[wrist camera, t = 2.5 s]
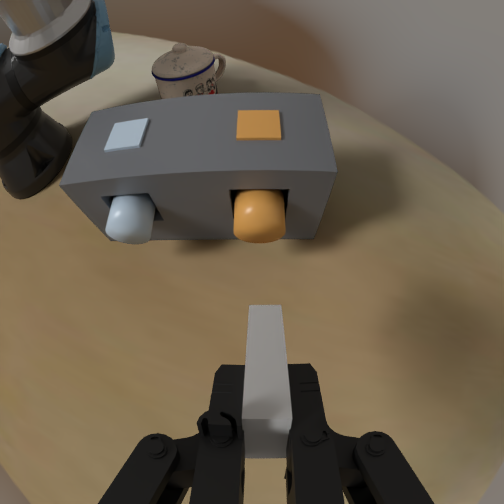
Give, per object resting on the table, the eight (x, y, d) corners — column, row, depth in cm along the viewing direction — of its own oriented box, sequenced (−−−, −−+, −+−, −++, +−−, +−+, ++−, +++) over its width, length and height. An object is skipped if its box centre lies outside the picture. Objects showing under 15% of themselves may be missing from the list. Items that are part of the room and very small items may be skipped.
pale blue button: (123, 214, 29) (106, 191, 25) (161, 212, 29) (148, 187, 25) (117, 244, 28) (97, 224, 23) (156, 244, 27) (140, 222, 23)
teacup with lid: (186, 132, 40) (169, 67, 29) (154, 110, 42) (135, 53, 32) (245, 95, 43) (242, 34, 32) (209, 77, 45) (201, 22, 35)
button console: (126, 174, 37) (91, 110, 26) (306, 168, 36) (320, 92, 25) (110, 240, 33) (57, 183, 22) (313, 238, 32) (338, 169, 21)
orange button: (236, 210, 29) (232, 183, 24) (282, 210, 28) (285, 183, 24) (235, 243, 27) (231, 219, 23) (283, 243, 27) (287, 219, 23)
